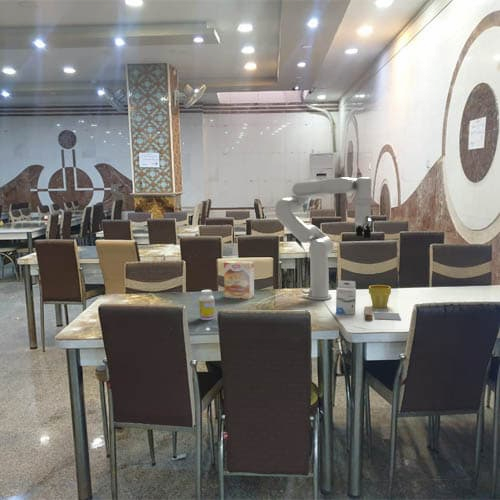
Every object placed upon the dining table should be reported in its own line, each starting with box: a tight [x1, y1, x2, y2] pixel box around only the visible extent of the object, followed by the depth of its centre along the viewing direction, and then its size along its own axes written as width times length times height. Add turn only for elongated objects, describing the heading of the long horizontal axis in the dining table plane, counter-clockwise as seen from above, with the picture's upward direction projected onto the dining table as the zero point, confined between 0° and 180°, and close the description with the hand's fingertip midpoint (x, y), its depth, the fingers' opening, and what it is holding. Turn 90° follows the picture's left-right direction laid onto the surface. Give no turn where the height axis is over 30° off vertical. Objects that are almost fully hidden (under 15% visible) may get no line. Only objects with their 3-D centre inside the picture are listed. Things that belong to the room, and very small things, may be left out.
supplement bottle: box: [198, 289, 216, 321], centre depth 204 cm, size 7×7×13 cm
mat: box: [373, 312, 402, 321], centre depth 203 cm, size 11×11×1 cm
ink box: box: [335, 279, 357, 316], centre depth 210 cm, size 8×5×15 cm, turn 71°
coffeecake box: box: [223, 260, 255, 300], centre depth 247 cm, size 15×7×20 cm, turn 68°
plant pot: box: [368, 284, 392, 309], centre depth 221 cm, size 10×10×10 cm
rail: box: [363, 306, 374, 321], centre depth 204 cm, size 3×15×2 cm, turn 168°
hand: (363, 236), depth 228 cm, fingers open, 9 cm apart
